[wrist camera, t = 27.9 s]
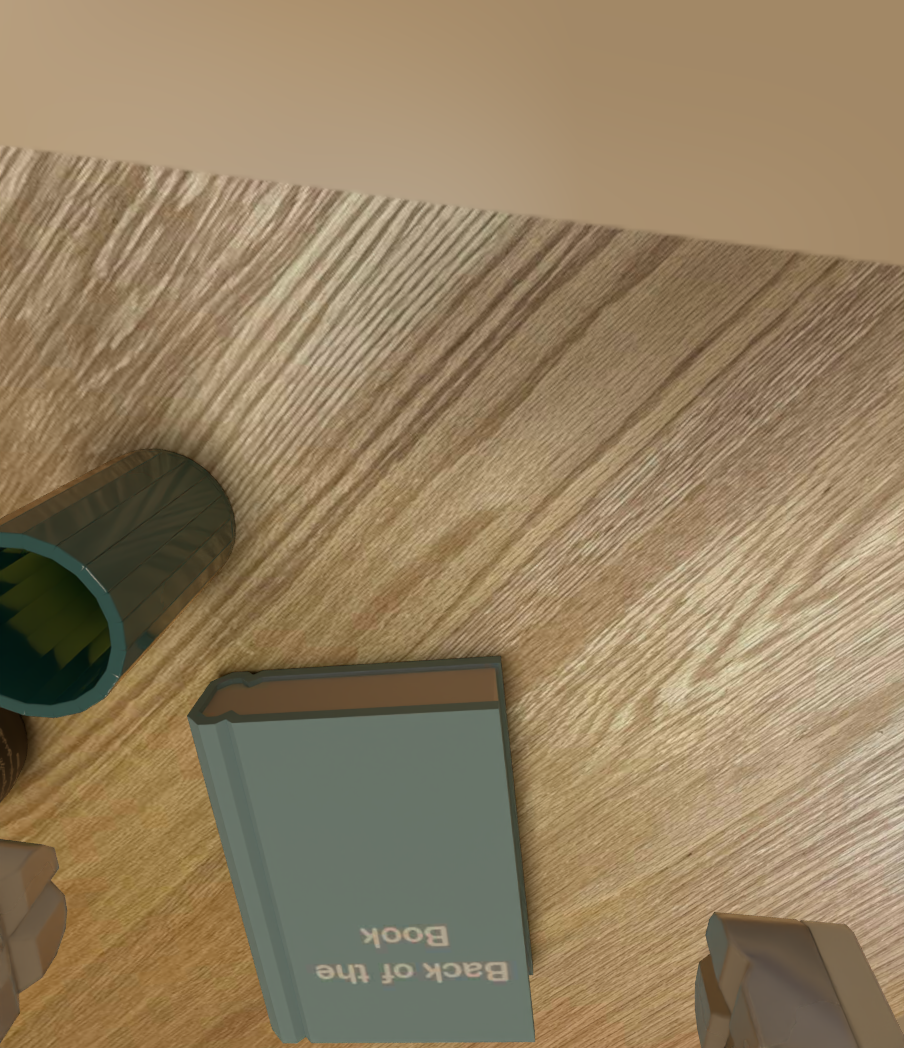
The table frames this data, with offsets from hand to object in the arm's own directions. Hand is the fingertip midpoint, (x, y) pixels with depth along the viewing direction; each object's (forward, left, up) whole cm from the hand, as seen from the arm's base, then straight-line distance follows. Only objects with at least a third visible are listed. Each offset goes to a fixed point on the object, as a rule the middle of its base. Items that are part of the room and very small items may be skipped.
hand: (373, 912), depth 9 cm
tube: (+6, -16, -29) cm, 34 cm away
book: (+25, -4, -29) cm, 39 cm away
